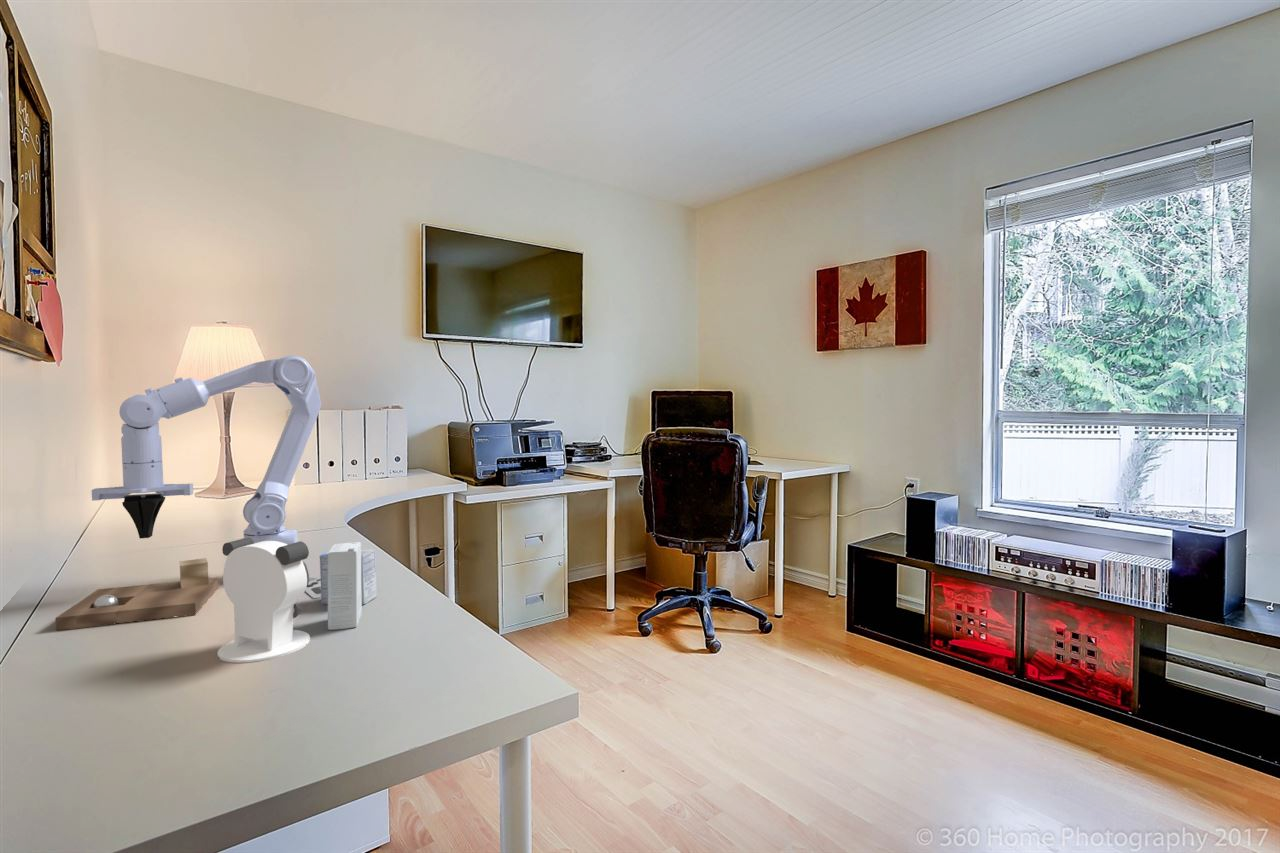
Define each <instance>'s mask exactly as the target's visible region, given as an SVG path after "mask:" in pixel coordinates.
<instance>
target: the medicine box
mask: <svg viewBox="0 0 1280 853" xmlns="http://www.w3.org/2000/svg"><path fill="white" fill-rule="evenodd" d="M329 551H330V550H329ZM329 551H326V552H324V553H322V554H319V572H320V573H319V574H320V575H319V576H320V579H321V598H320V600H321V601H320V602H321V604H323V605H328V552H329ZM376 568H377V566H376V551H375V549H362V548H361V593H362V605H366V604H368V603H369V602H371V601H373V600H374V599H376V598H377V597H378V591H377V571H376V570H377V569H376Z"/></svg>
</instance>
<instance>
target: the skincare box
mask: <svg viewBox="0 0 1280 853" xmlns="http://www.w3.org/2000/svg"><path fill="white" fill-rule="evenodd" d="M361 549H362V542H360V541H357V542H355V541H354V542H344V543H343V542H342V543H335V544H333V545H332V546H331V548H330V549H329V552H328V551H327V552H328V604H327V630H329V631H332V630H333V631H335V630H336V631H337V630H346V629H354V628H357V627H358V624H359V621H360V620H361V617H362V612H363V611H362V610H363V609H362V606H363V604H362V593H361Z"/></svg>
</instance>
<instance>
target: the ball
mask: <svg viewBox="0 0 1280 853" xmlns="http://www.w3.org/2000/svg"><path fill="white" fill-rule="evenodd" d="M118 605H119V602H118V599H117V598H116V597H115V596H112V595H104V596H101V597H99V598H98V599H97V600H96V601H95V602H94V605H93V608H99V607H108V606H118Z"/></svg>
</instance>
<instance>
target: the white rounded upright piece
mask: <svg viewBox="0 0 1280 853" xmlns="http://www.w3.org/2000/svg"><path fill="white" fill-rule="evenodd" d="M222 554H223V555H224V556H227V557H226V559H225V562H224V567H223V571H222V573H223V574H222V582H223V588H224V591H225V593H226V596H227V598H228V599H229V601H230V602H231V603H232V604H233V612H234V613H233V615H234V639H233V640H231V641H229V642H227V643H226V644H224V645H222V646H221V647H220V648H219V649H218V650H217V657H219V658H220V659H219V658H218V659H219V660H221V661H223V662H226V663H232V664H233V663H235V664H241V663H242V664H243V663H257V662H262V661H268V660H269V661H270V660H272V659H277V658H281V657H283V656H287V655H290V654H292V653H295V652H297V651H299V650H301V649H303V648H305V647H306V646H307V645H308V644H309V643H310V641H311V636H310V634H309V633H307V632H306V631H302V630H299V629H294V628H293V627H294V619H295V618H297V617H298V616H299V614H300V612H301V611H300V610H301V608H300V606H299V603H298V601H300V600H301V598H302V597H303V596H304V594H305V593H306V592H305V589H306V587H307V586H308V583H309V576H310V573H309V569H308V567H307V564H306V563H305V562H304V560H307V559H308V557H309V554H310V551H309V548H308V545H307V544H306V543H305V542H304V541H302V540H301V541H298V542H296V543H292V544H289V545H287V544H285V543H282V542H278V541H262V542H258V543H255V544H254V542H253V540H252V539H251V538H244V537H243V538H241V539H236V540H233V541H232V540H231V541H229V542H228V541H227V542H225V543H224V544H223V545H222ZM306 644H307V645H306Z"/></svg>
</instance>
